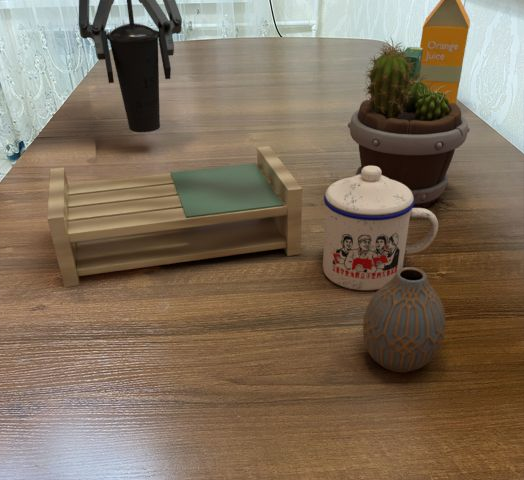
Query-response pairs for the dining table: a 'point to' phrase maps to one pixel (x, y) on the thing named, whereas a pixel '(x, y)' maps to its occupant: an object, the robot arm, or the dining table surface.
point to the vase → (404, 322)
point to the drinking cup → (137, 72)
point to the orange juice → (444, 47)
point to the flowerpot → (407, 128)
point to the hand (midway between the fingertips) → (139, 75)
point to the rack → (173, 217)
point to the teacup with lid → (369, 229)
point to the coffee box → (414, 60)
